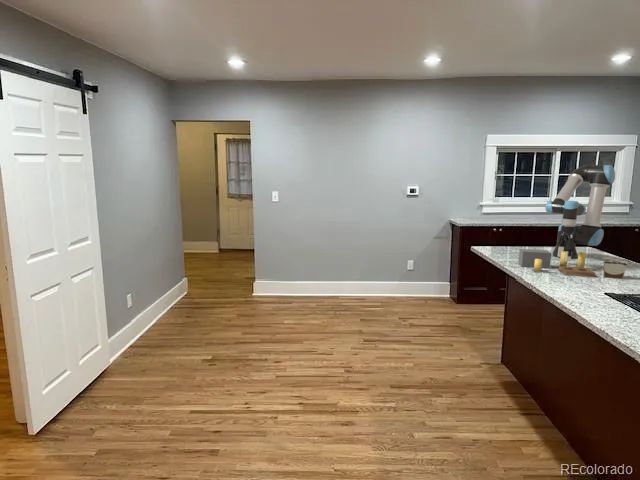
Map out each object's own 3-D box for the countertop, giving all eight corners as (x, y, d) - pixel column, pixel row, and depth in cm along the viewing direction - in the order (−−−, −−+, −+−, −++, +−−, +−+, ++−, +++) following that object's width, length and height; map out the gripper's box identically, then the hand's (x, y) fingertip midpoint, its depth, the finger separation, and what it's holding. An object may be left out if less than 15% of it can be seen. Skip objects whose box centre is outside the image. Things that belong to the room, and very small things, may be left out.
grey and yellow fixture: (531, 269, 260) (532, 258, 259) (554, 271, 258) (556, 259, 256) (534, 272, 255) (535, 260, 254) (557, 273, 253) (558, 261, 252)
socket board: (557, 270, 261) (558, 266, 260) (586, 272, 258) (586, 268, 257) (565, 275, 249) (565, 271, 249) (594, 277, 246) (595, 273, 246)
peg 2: (575, 267, 269) (577, 252, 267) (582, 267, 268) (584, 252, 266) (578, 269, 265) (580, 253, 263) (585, 269, 264) (587, 253, 262)
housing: (518, 263, 275) (519, 248, 273) (545, 265, 272) (547, 250, 270) (521, 267, 267) (523, 251, 265) (549, 268, 264) (551, 253, 262)
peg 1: (558, 266, 270) (560, 251, 269) (565, 266, 270) (567, 251, 268) (560, 268, 267) (562, 252, 265) (567, 268, 266) (569, 252, 264)
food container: (622, 276, 248) (624, 260, 246) (625, 279, 242) (628, 262, 240) (597, 274, 252) (600, 258, 250) (600, 277, 246) (603, 260, 244)
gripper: (554, 222, 276) (550, 254, 280) (569, 228, 252) (564, 262, 256) (567, 223, 275) (563, 255, 278) (583, 228, 250) (578, 263, 254)
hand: (563, 259), depth 267 cm, fingers open, 13 cm apart
